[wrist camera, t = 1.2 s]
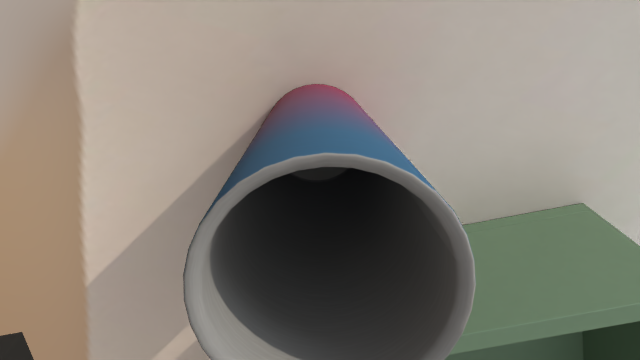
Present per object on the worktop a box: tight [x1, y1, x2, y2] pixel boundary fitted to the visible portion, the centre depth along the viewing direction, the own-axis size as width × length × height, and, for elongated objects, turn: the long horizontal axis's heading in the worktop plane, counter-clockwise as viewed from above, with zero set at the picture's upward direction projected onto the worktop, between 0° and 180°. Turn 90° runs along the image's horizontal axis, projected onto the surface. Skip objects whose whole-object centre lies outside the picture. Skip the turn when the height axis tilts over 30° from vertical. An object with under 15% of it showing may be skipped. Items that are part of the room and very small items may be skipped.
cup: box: [183, 84, 476, 360], centre depth 20 cm, size 7×7×15 cm
